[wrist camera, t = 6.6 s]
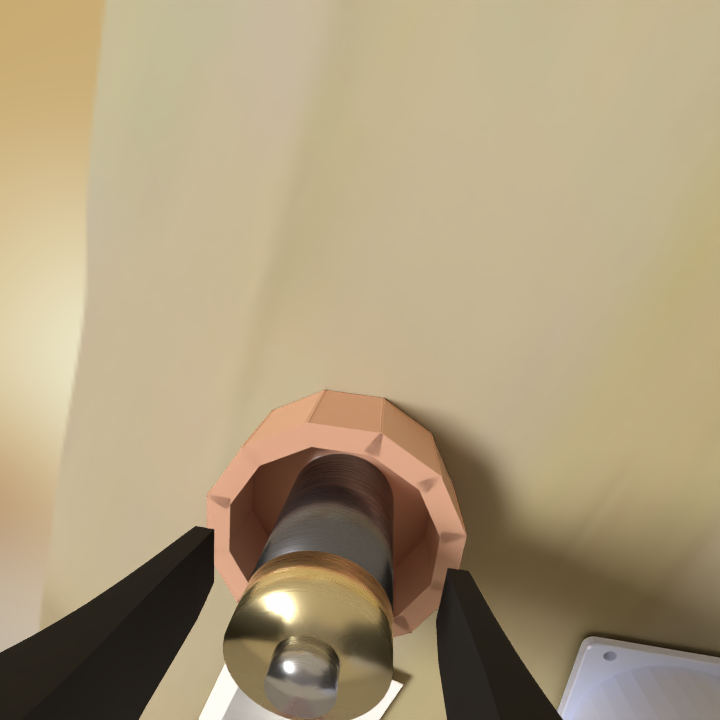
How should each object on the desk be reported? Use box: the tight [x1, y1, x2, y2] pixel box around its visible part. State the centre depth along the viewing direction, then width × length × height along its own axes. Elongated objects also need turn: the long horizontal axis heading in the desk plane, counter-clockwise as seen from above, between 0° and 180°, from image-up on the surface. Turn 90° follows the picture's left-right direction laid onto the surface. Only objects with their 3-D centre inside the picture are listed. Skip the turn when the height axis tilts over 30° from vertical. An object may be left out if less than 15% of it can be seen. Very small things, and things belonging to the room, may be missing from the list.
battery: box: [223, 454, 394, 720], centre depth 11 cm, size 4×4×7 cm
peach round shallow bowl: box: [206, 390, 467, 637], centre depth 14 cm, size 9×9×3 cm
